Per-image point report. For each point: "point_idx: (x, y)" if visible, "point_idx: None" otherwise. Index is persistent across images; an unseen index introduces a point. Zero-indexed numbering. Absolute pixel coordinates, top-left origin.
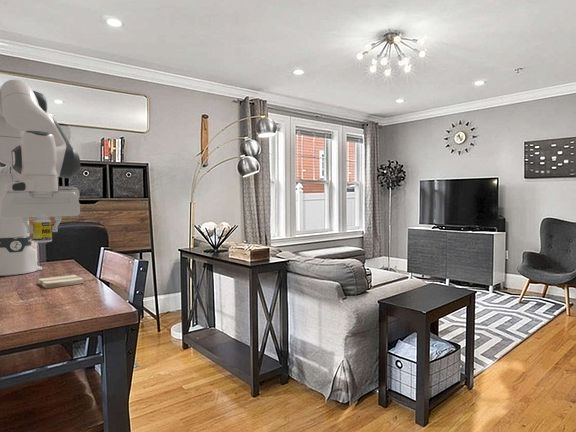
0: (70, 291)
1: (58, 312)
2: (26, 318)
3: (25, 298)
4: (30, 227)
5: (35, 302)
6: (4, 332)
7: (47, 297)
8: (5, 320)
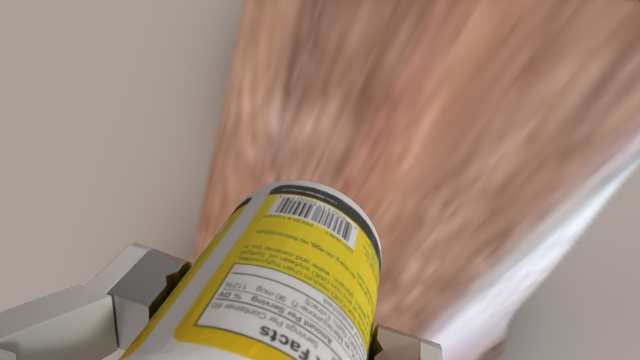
0: (470, 129)
1: None
2: None
3: (297, 85)
4: (121, 345)
5: None
6: None
7: (354, 147)
8: None
